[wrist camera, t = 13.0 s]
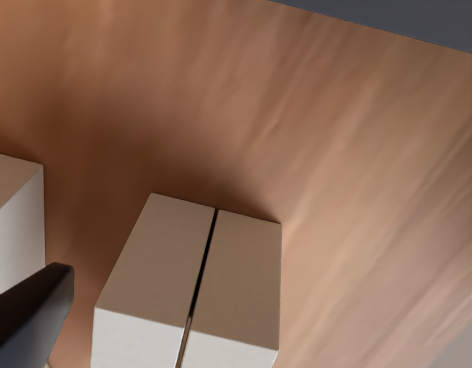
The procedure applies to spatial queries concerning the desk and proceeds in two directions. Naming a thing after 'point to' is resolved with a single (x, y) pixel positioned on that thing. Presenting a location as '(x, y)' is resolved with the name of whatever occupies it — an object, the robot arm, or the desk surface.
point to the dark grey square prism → (403, 17)
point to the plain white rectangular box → (20, 220)
